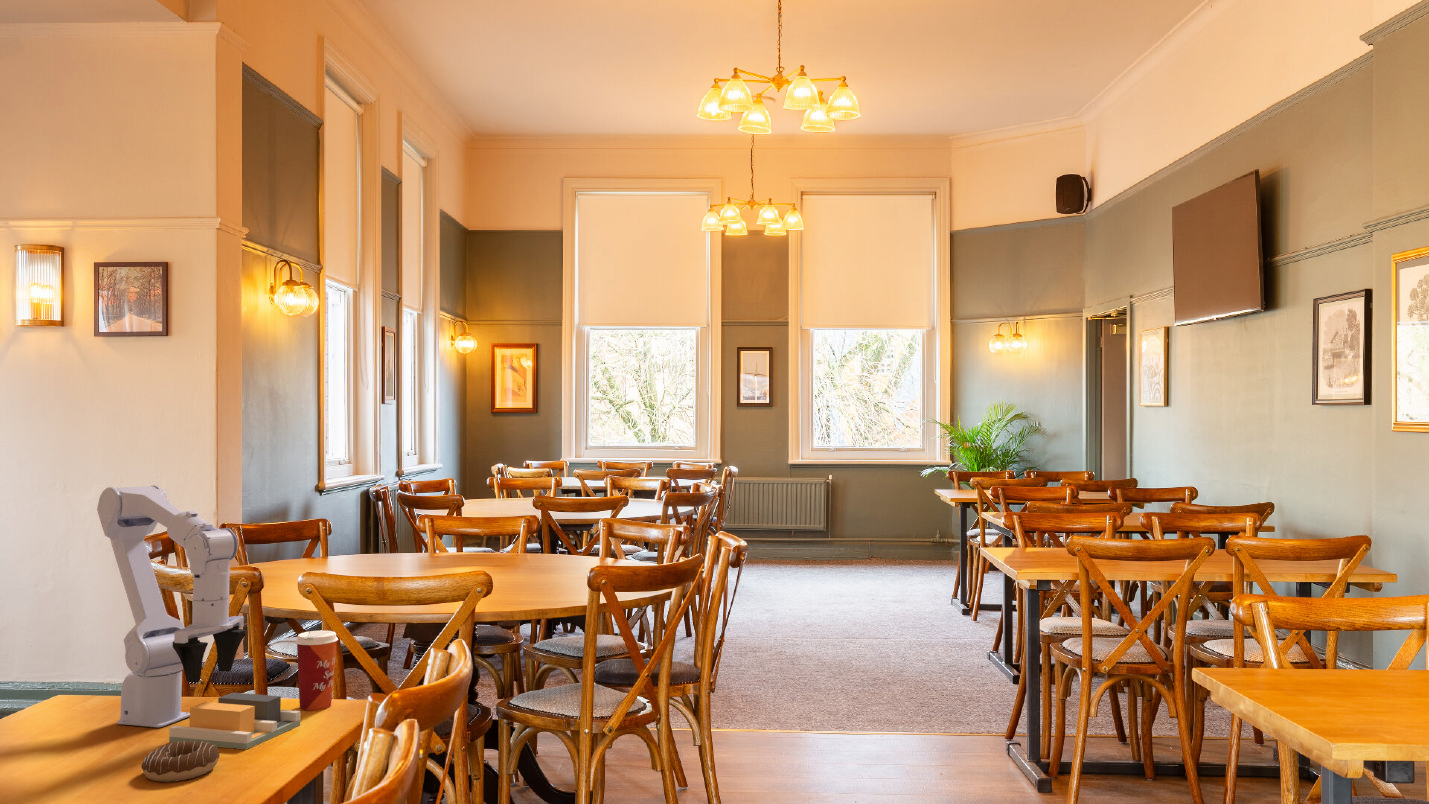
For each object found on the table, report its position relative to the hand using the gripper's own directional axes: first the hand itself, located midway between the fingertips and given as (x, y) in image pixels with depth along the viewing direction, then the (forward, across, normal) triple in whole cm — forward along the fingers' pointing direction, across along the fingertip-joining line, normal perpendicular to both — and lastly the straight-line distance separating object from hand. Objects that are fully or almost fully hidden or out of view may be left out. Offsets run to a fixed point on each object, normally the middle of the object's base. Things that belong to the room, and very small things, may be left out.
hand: (209, 676), depth 171 cm
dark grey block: (+9, +4, -5) cm, 11 cm away
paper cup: (+10, +19, -8) cm, 23 cm away
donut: (+10, -18, -10) cm, 23 cm away
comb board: (+10, +1, -5) cm, 11 cm away
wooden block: (+9, -2, -5) cm, 10 cm away
